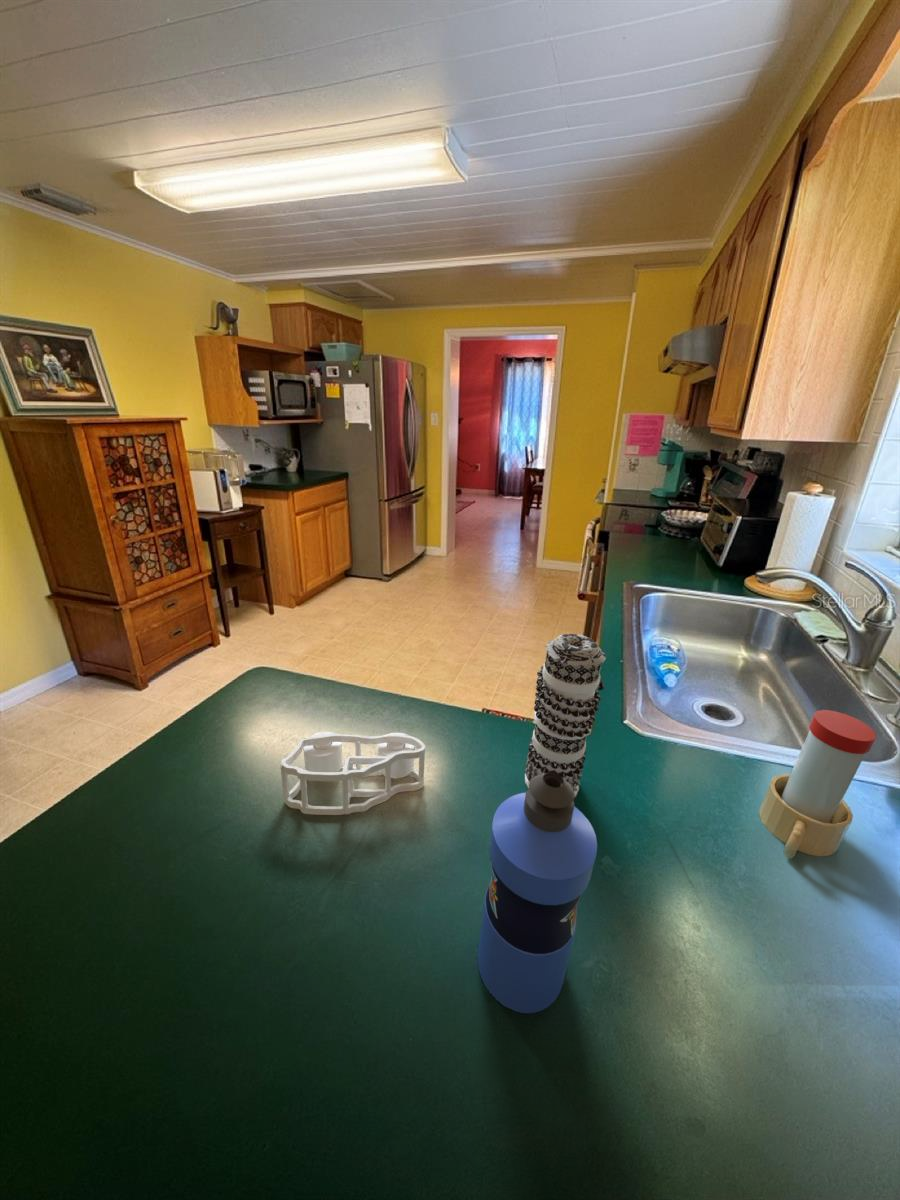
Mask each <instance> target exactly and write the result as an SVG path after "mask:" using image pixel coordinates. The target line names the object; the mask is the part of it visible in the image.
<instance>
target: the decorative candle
mask: <svg viewBox="0 0 900 1200" xmlns="http://www.w3.org/2000/svg"><path fill="white" fill-rule="evenodd" d="M545 651H546V654H545V661H544V663H543V664H542V665H541V666H540V670H538V671H537V672H536V675H537V679H536V686H535V690H536V692H535V694H534V695H535V699H534V706H533V711H534V712H533V721H534V723H535V725H534V729H533V731H532V737H531V738H530V739H529V746H528V753H527V757H526V764H525V771H524V772H525V773H524V783H525V785H526V787H527V789H528V788H529V783H530V781H531V779H532V778H533V777H535V776H537V775H540V774H544V773H549V772H552V773H556V774H558V775H560V776H561V777H562V778H563V779H565V780H566V781H567V782H568V783H569V784H570V785H571V786H572V788H573V790H574V795H575V796H574V799H575V798H576V797H577V795H578V792H579V790H580V787H579V786H581V782H580V780H581V779H582V778H583V774H582V772H583V769H584V767H585V765H584V762H585V760H586V759H587V757H586V754H587V751H586V747H587V741H586V740H587V736H589V735H590V733H591V731H592V729H593V723H594V722H595V721H596V718H595V714H596V713H597V711H599V706H598V705H599V702H600V701H601V700H602V698H601V696H600V692H599V691H602V690H604V689H605V685H604V682H603V680H602V679H601V677H602V676H601V674H600V673H601V669H602V664H604V663H605V660H606V659H607V656H606V653H605V651H604V650H603V649H602V648H601V647H599V644H598V643H597V642H596V641H595V640H594V639H592V638H590V637H588V636H586V635H583V634H578V633H563V634H561V635H558V636H557V637H556V638H555V639H552V640H549V642H547V644H546V645H545Z"/></svg>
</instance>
